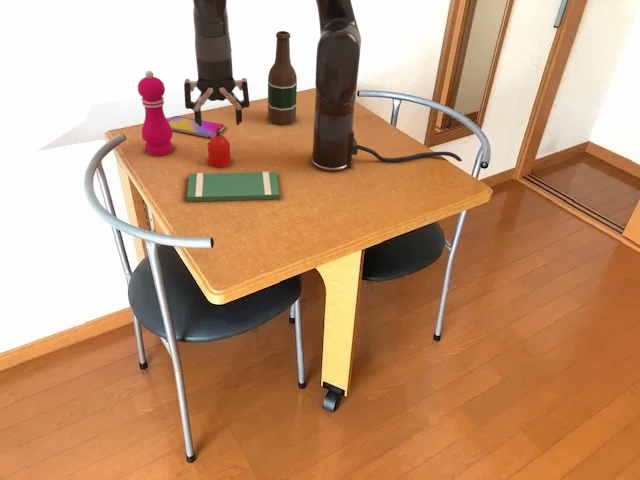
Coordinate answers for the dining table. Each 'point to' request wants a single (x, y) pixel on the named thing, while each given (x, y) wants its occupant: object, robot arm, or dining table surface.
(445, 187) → the dining table surface
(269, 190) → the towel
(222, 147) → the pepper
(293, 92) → the beer bottle
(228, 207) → the dining table surface
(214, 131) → the smartphone
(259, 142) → the dining table surface
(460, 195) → the dining table surface
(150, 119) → the pepper mill
